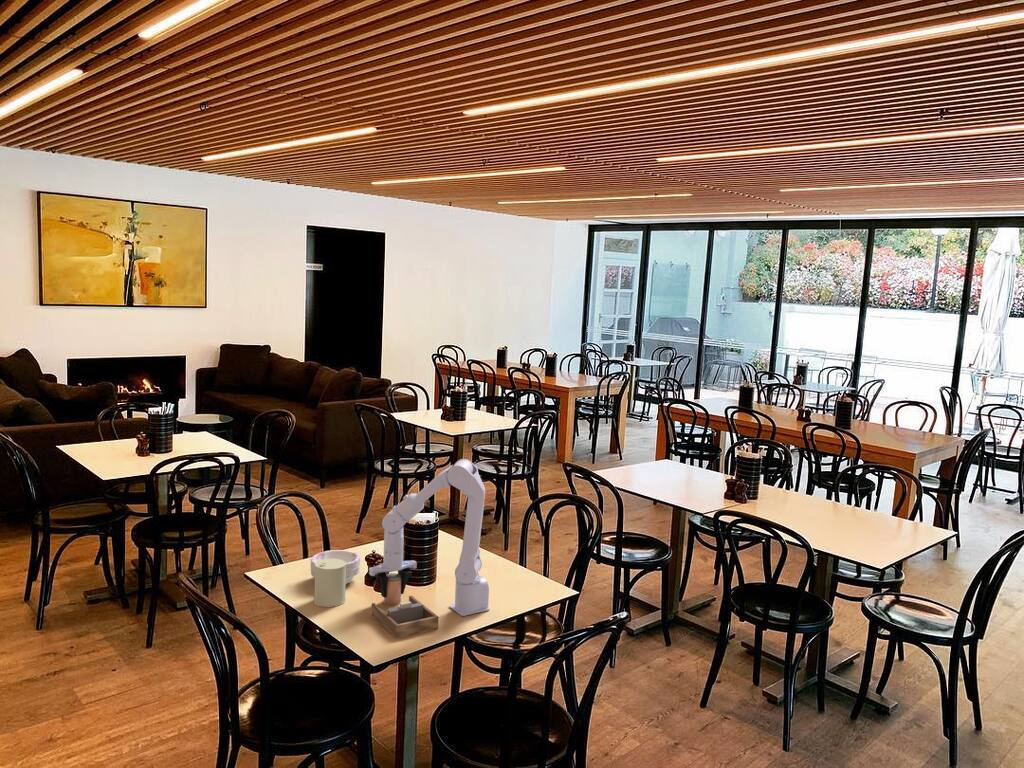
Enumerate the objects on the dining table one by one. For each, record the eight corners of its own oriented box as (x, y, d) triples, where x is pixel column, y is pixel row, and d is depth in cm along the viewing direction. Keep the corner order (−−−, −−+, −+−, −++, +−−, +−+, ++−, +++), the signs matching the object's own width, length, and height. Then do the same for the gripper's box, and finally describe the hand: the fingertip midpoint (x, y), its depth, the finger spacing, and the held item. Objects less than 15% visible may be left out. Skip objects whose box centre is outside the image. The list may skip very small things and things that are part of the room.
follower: (419, 615, 230) (420, 598, 229) (423, 618, 228) (423, 600, 227) (386, 622, 224) (387, 605, 223) (390, 625, 222) (390, 607, 222)
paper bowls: (311, 573, 260) (311, 549, 259) (359, 571, 263) (359, 548, 262) (309, 591, 245) (309, 566, 244) (359, 589, 248) (360, 564, 247)
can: (307, 599, 239) (308, 560, 237) (334, 592, 245) (335, 554, 244) (324, 609, 232) (325, 569, 231) (351, 601, 239) (352, 562, 237)
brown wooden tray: (411, 606, 237) (411, 595, 237) (438, 628, 223) (438, 616, 223) (371, 615, 230) (371, 603, 230) (396, 638, 216) (396, 625, 216)
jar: (396, 597, 244) (397, 571, 243) (403, 603, 240) (404, 577, 238) (381, 600, 241) (381, 574, 240) (388, 606, 237) (388, 580, 236)
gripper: (409, 543, 245) (408, 585, 247) (365, 550, 237) (364, 594, 239) (420, 550, 240) (419, 593, 241) (374, 557, 232) (373, 602, 233)
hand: (392, 594), depth 240 cm, fingers closed on jar, 5 cm apart
